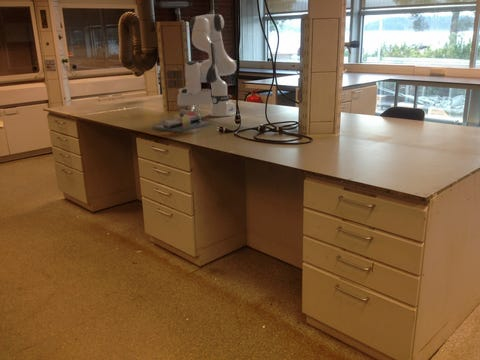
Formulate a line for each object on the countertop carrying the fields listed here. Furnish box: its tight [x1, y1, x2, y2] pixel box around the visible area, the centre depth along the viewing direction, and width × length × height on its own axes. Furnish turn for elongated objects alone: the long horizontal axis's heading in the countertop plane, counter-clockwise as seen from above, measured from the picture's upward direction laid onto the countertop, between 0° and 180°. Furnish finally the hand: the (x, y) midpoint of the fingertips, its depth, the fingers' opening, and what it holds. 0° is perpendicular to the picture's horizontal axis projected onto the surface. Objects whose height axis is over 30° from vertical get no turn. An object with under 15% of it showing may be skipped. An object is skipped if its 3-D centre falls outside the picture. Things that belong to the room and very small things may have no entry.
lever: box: [178, 108, 196, 116], centre depth 275 cm, size 17×4×4 cm, turn 33°
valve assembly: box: [152, 112, 213, 133], centre depth 282 cm, size 30×22×7 cm
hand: (195, 112), depth 271 cm, fingers closed
